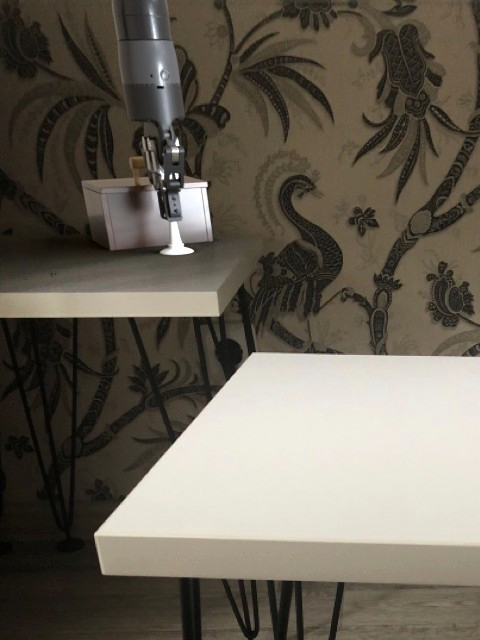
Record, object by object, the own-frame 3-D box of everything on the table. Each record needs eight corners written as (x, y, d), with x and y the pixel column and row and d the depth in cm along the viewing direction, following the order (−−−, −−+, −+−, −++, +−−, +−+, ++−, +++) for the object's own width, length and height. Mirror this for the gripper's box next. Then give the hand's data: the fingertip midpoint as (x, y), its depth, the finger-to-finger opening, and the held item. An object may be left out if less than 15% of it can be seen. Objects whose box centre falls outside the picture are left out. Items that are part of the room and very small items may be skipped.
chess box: (214, 248, 142) (206, 187, 137) (112, 258, 135) (100, 194, 130) (191, 239, 150) (183, 180, 146) (94, 248, 143) (82, 186, 139)
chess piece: (165, 253, 135) (154, 179, 130) (198, 253, 135) (189, 179, 130) (155, 259, 131) (143, 183, 126) (189, 260, 131) (179, 183, 126)
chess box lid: (208, 187, 137) (204, 154, 134) (101, 194, 130) (95, 160, 128) (183, 180, 146) (178, 149, 144) (82, 186, 139) (76, 154, 137)
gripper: (109, 80, 125) (132, 216, 134) (136, 81, 115) (159, 228, 123) (164, 80, 128) (183, 212, 137) (195, 80, 118) (213, 223, 127)
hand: (172, 219), depth 130 cm, fingers closed on chess piece
